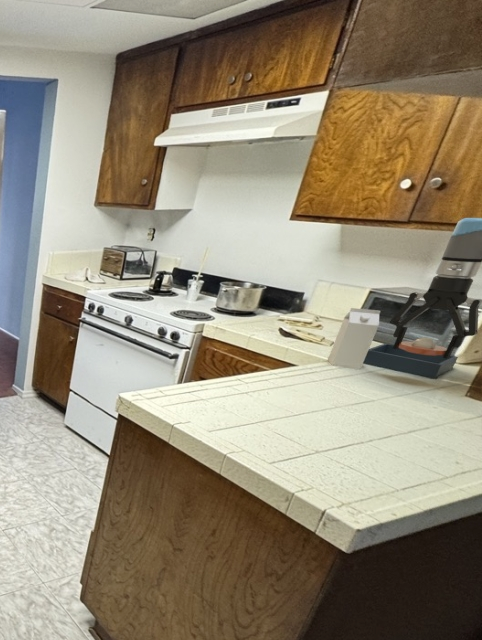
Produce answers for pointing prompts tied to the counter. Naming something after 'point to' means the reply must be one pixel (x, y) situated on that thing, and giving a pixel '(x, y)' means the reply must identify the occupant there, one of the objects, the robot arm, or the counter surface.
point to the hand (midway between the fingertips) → (420, 352)
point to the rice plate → (423, 347)
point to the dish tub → (408, 361)
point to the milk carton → (354, 338)
